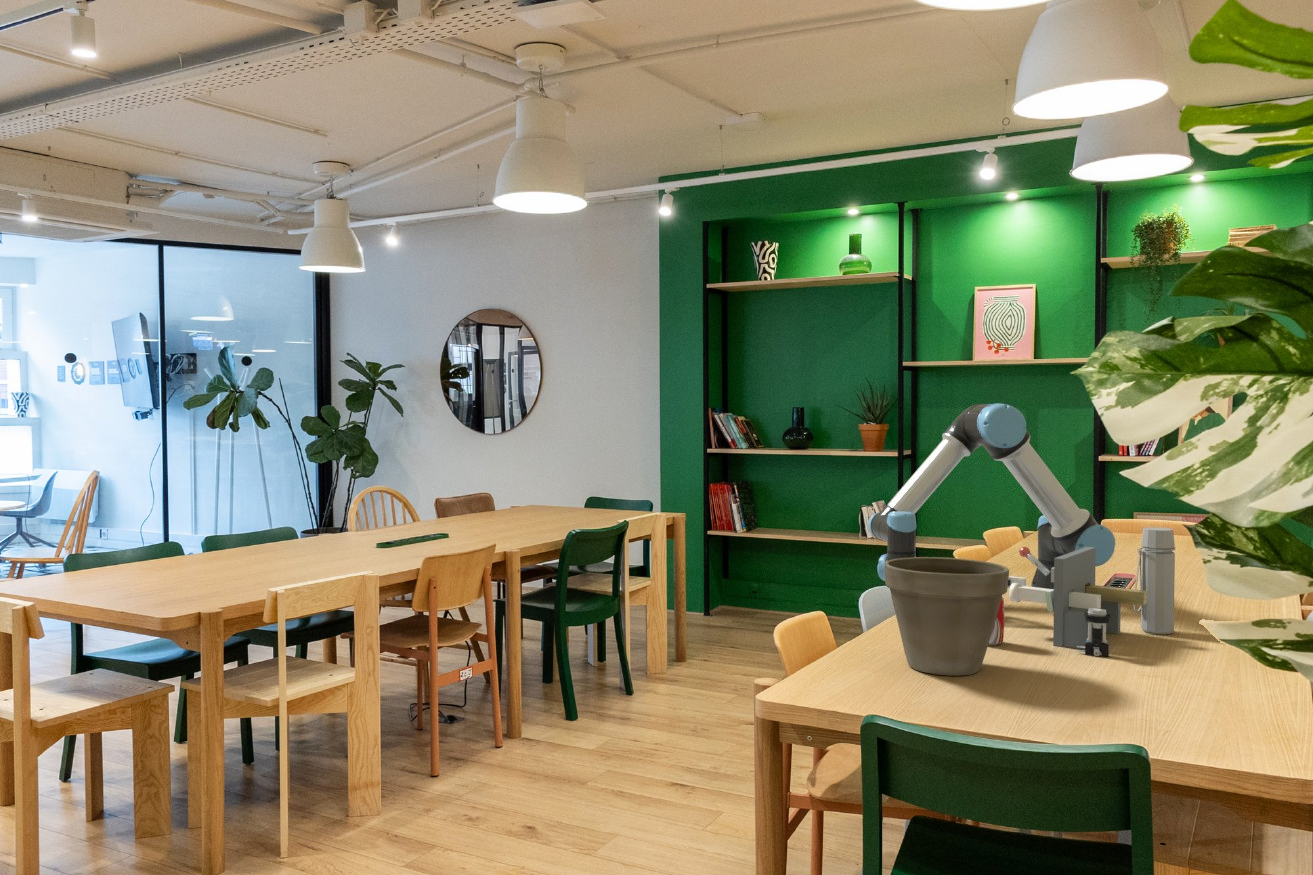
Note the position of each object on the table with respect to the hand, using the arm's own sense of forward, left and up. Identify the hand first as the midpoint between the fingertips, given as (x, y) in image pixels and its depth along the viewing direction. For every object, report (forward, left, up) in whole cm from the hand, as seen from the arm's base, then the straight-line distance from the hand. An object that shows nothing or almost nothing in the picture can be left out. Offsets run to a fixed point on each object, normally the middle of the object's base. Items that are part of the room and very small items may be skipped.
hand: (1025, 583), depth 245 cm
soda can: (+24, +7, -10) cm, 27 cm away
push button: (+14, +27, -10) cm, 32 cm away
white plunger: (+9, +14, -2) cm, 16 cm away
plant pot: (+49, +15, -10) cm, 52 cm away
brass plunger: (-5, +17, -2) cm, 18 cm away
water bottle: (-18, +23, -10) cm, 31 cm away
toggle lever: (+13, +12, +5) cm, 18 cm away
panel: (+1, +17, -10) cm, 20 cm away
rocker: (+12, +16, -3) cm, 20 cm away
